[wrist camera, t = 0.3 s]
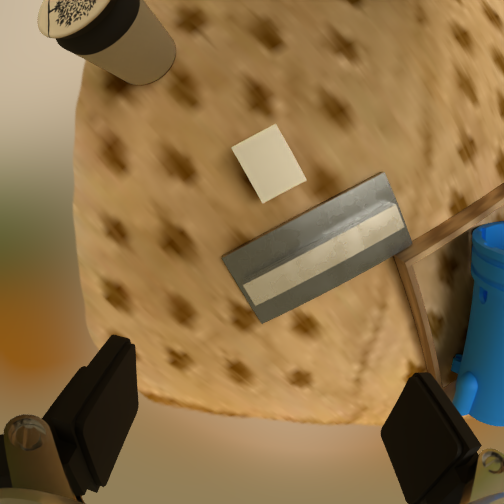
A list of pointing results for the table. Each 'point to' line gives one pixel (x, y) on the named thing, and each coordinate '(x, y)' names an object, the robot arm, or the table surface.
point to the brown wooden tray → (427, 246)
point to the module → (269, 163)
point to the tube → (484, 332)
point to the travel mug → (111, 36)
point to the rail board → (309, 234)
